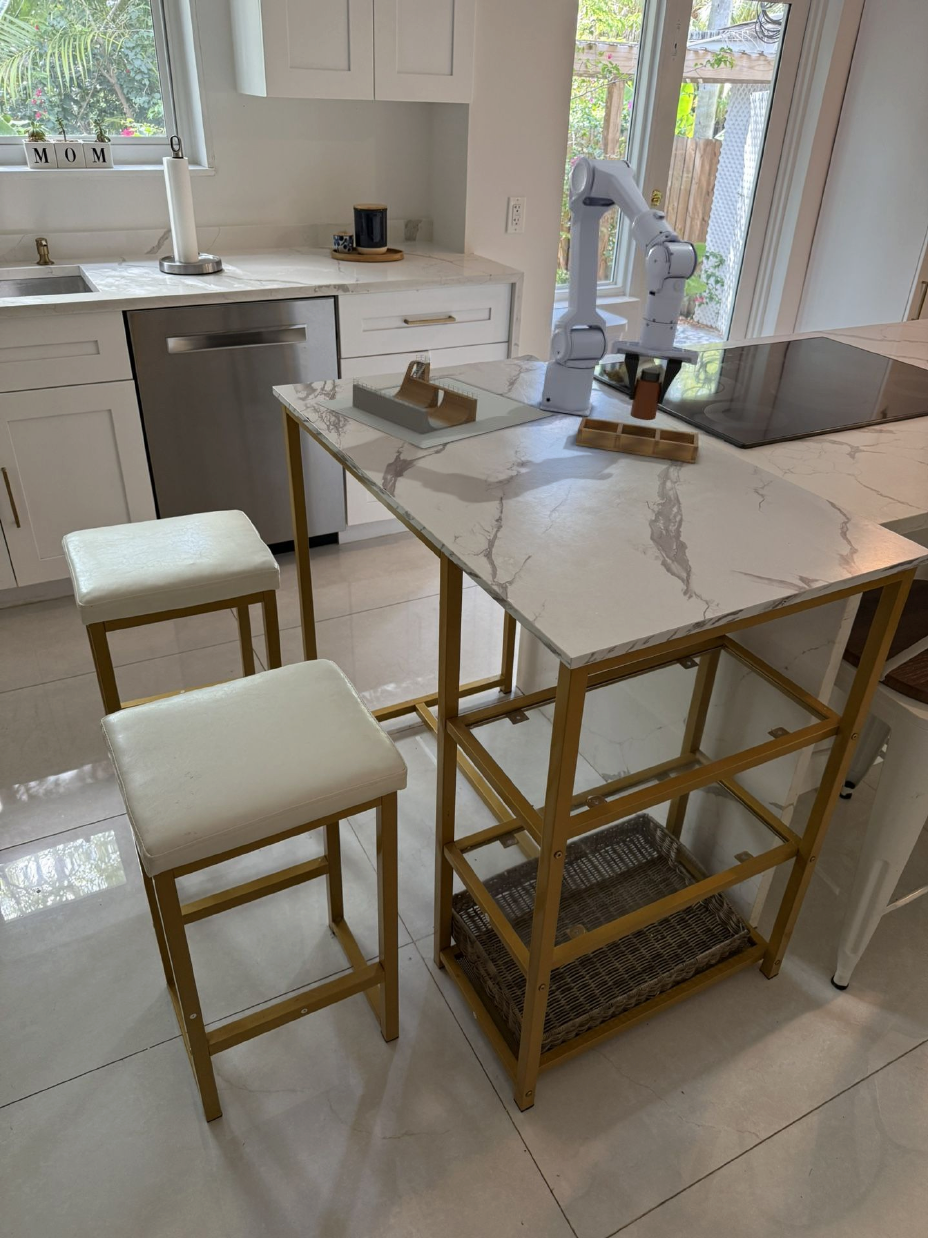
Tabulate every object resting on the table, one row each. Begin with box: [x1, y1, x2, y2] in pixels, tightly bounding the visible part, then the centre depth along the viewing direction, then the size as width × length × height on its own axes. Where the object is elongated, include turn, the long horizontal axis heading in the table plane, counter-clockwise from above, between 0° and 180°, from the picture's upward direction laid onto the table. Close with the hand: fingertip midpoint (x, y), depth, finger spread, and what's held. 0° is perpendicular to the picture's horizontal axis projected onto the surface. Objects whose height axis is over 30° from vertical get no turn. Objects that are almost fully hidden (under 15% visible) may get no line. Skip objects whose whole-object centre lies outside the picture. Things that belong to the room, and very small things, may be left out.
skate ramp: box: [315, 354, 555, 449], centre depth 165 cm, size 29×35×8 cm
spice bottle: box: [629, 368, 663, 421], centre depth 153 cm, size 4×4×8 cm
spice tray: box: [575, 416, 700, 464], centre depth 157 cm, size 21×8×3 cm, turn 77°
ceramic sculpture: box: [602, 357, 666, 388], centre depth 190 cm, size 11×9×15 cm
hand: (645, 400), depth 153 cm, fingers closed on spice bottle, 4 cm apart
